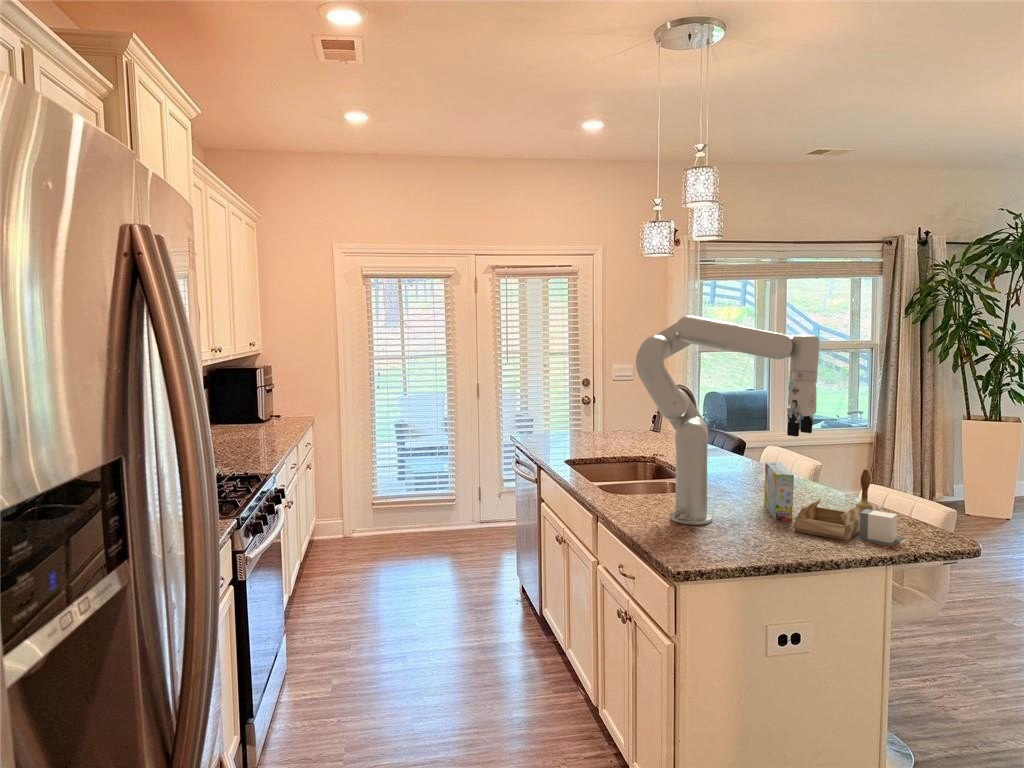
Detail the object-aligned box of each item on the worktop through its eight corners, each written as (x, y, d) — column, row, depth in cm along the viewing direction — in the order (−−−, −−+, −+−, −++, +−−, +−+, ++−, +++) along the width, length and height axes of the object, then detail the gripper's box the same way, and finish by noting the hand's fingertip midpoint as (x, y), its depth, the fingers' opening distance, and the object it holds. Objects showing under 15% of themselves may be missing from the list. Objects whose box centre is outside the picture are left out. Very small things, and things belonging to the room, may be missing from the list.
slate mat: (893, 548, 178) (893, 546, 178) (853, 540, 185) (853, 538, 185) (903, 539, 185) (903, 537, 185) (864, 532, 192) (864, 530, 192)
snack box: (794, 523, 203) (795, 474, 202) (774, 522, 204) (775, 474, 203) (780, 505, 224) (781, 461, 222) (762, 505, 225) (763, 461, 224)
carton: (843, 543, 182) (844, 517, 182) (792, 533, 192) (792, 509, 191) (866, 528, 196) (866, 504, 196) (817, 519, 206) (817, 496, 205)
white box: (891, 543, 180) (892, 517, 180) (859, 537, 186) (860, 512, 185) (896, 538, 184) (897, 514, 184) (865, 533, 190) (865, 509, 189)
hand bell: (849, 515, 210) (851, 466, 209) (879, 519, 206) (881, 468, 204) (847, 522, 203) (849, 471, 202) (878, 526, 198) (880, 473, 197)
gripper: (804, 378, 186) (800, 439, 188) (827, 376, 199) (823, 433, 200) (778, 377, 192) (774, 435, 193) (801, 375, 204) (798, 430, 205)
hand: (799, 434), depth 197 cm, fingers open, 9 cm apart
